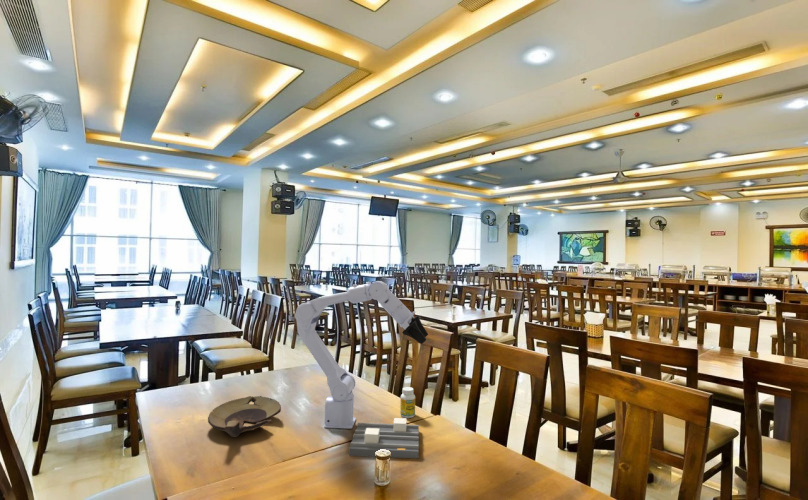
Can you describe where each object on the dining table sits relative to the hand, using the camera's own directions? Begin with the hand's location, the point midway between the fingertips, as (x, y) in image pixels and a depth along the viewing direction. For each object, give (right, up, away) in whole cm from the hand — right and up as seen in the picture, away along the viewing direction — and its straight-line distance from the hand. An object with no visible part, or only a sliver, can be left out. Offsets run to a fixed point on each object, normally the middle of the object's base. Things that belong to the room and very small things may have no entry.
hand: (425, 339), depth 132 cm
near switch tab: (-17, -28, -13) cm, 35 cm away
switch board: (-13, -30, -9) cm, 34 cm away
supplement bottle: (-6, -30, +12) cm, 33 cm away
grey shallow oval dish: (-61, -29, -1) cm, 68 cm away
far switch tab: (-8, -28, -5) cm, 30 cm away
